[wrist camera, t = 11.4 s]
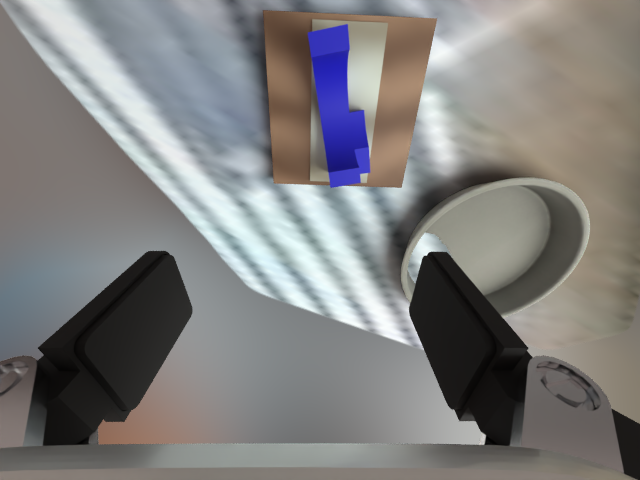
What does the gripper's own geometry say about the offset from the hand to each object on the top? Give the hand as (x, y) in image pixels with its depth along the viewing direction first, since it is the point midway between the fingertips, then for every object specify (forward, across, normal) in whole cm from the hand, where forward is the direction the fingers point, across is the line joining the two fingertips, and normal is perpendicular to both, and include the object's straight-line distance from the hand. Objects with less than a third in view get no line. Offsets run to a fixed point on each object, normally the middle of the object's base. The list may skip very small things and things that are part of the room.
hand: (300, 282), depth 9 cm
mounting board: (+24, -3, -5) cm, 25 cm away
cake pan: (+24, -25, +14) cm, 37 cm away
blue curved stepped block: (+22, -3, -5) cm, 23 cm away
